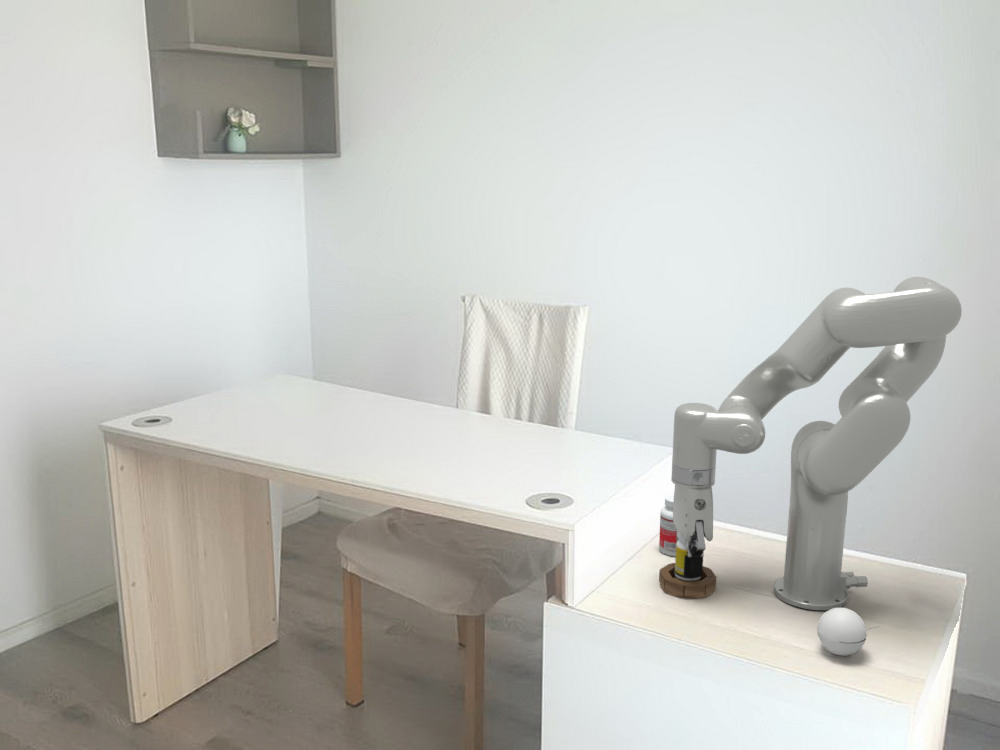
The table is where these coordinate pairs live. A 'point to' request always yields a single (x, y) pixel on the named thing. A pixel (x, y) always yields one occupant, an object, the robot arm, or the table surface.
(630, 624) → the table surface
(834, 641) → the white sphere
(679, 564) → the supplement bottle
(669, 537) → the pill bottle
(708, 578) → the holder
